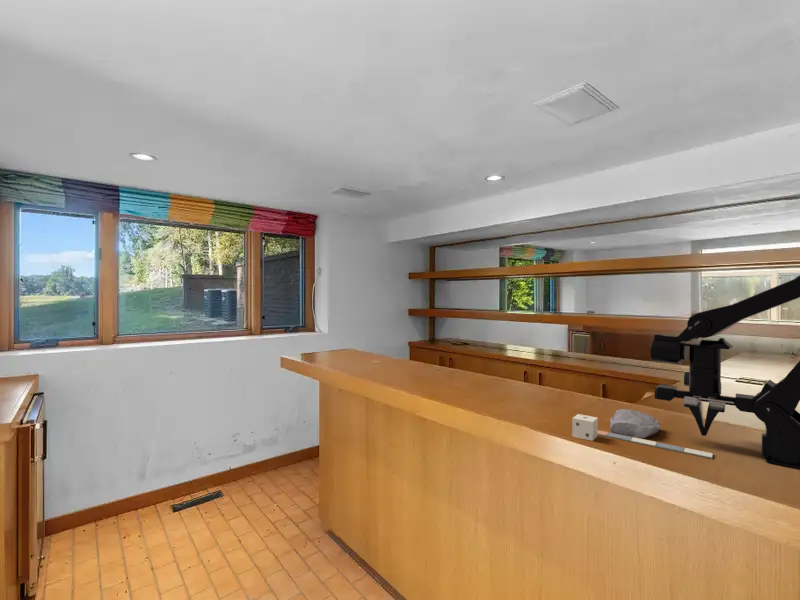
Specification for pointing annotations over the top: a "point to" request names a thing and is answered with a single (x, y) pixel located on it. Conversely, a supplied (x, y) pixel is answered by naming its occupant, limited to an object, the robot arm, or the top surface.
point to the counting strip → (657, 444)
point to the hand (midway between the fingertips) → (704, 435)
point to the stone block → (633, 424)
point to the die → (585, 427)
